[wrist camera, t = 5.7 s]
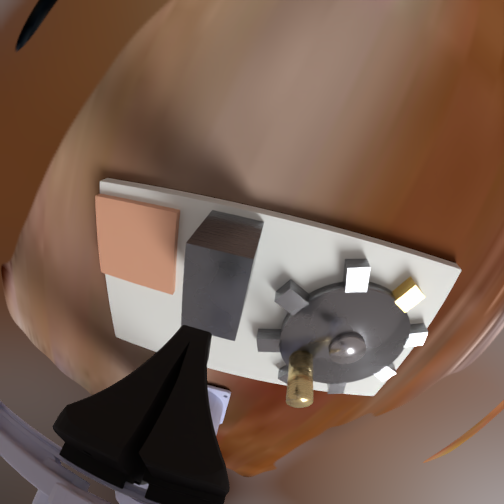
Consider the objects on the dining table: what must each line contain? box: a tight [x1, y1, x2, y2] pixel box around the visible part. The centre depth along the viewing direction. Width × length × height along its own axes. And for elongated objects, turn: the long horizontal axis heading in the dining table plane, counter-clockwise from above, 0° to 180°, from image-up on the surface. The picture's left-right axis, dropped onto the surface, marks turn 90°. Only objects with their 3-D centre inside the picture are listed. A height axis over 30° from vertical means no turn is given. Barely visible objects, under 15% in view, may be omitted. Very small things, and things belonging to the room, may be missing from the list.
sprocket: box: [256, 259, 428, 408], centre depth 19 cm, size 14×14×6 cm
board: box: [95, 178, 461, 396], centre depth 22 cm, size 17×29×2 cm, turn 79°
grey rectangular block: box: [181, 210, 264, 341], centre depth 17 cm, size 6×4×5 cm, turn 169°
